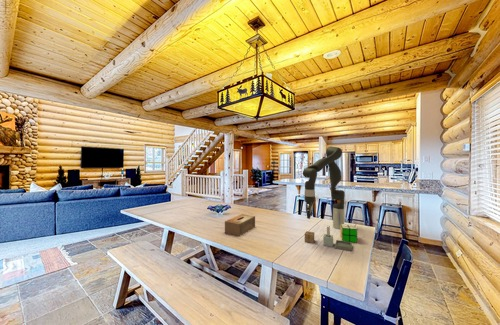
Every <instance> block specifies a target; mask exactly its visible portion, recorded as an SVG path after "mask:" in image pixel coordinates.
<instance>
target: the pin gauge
mask: <svg viewBox="0 0 500 325" xmlns="http://www.w3.org/2000/svg"><path fill="white" fill-rule="evenodd" d="M330 231H331V227H330V225H327V226H326V234H327V237H330V235H331V232H330Z"/></svg>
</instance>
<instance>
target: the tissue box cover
mask: <svg viewBox="0 0 500 325" xmlns="http://www.w3.org/2000/svg"><path fill="white" fill-rule="evenodd" d="M255 227H256V215H250V214H245V213H241V214H238V215H236V216H234V217H231V218H229V219H227V220H224V234H227V233H228V234H227V235H231V236H237V237H240V236H242V235H244V234H246V233H247V232H249V231H250V230H252V229H254V228H255Z"/></svg>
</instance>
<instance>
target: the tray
mask: <svg viewBox="0 0 500 325" xmlns="http://www.w3.org/2000/svg"><path fill="white" fill-rule="evenodd" d="M352 243H353V242H346V241H342V240H341V239H340V240H338V239H335V246H334V247H335V248H334V249H338V250H343V251H349V252H352V251H353V246H352Z"/></svg>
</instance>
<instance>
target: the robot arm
mask: <svg viewBox="0 0 500 325" xmlns="http://www.w3.org/2000/svg"><path fill="white" fill-rule="evenodd" d="M325 150H326V151H325V157H323V158H320V159H318V160H317V161H315V162H314V163H313V164H312V165H308V166H307V167H305V168H304V169H303V171H302V176H303V177H304V178H307V179H308V180H307V181H305V182H304V203H305V202H306V205H305V206H306V209H305V210H306V211H305V213H306V219H307V220H310V219H311V217H312V216H313V209H314V203H315V202H316V191H315V189H316V188H315V185H316V180H317V178H318V173H319V172H320V171H322V170H324V168H326V167H327V166H328V174H329V175H328V177H329V182H330V197H331V200H333V201H339V202H337V203H334V204H333V205H332V227H333V228H334V229H337V230H340V225H341V224H345V200H346V199H345V197H346V195H345V191H344V189H343V190H341V189H336V187H337V185H338V184H339V183H340V181H341V180H342V172H341V171H342V170H341V168H340V167H339V166H338V164H337V163H336V161H337V160H339V159H340V158H341V157H342V156H343V149H342V148H340V147H336V146H328V147H326V149H325Z"/></svg>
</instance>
